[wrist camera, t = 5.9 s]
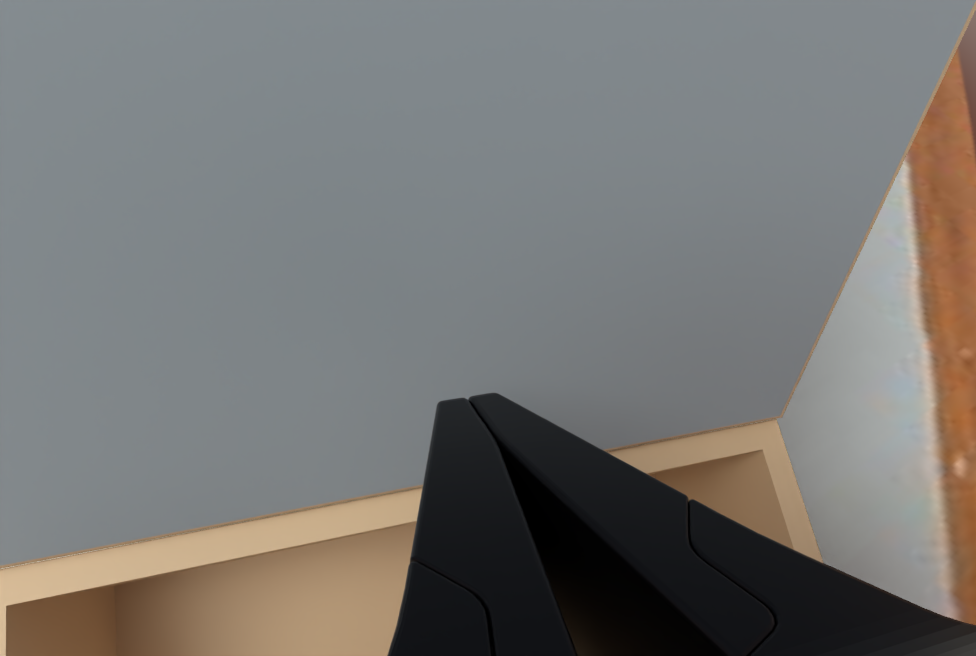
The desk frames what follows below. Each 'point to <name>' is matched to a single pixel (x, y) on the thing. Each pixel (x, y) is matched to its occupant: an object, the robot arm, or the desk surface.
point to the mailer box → (330, 566)
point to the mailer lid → (415, 233)
